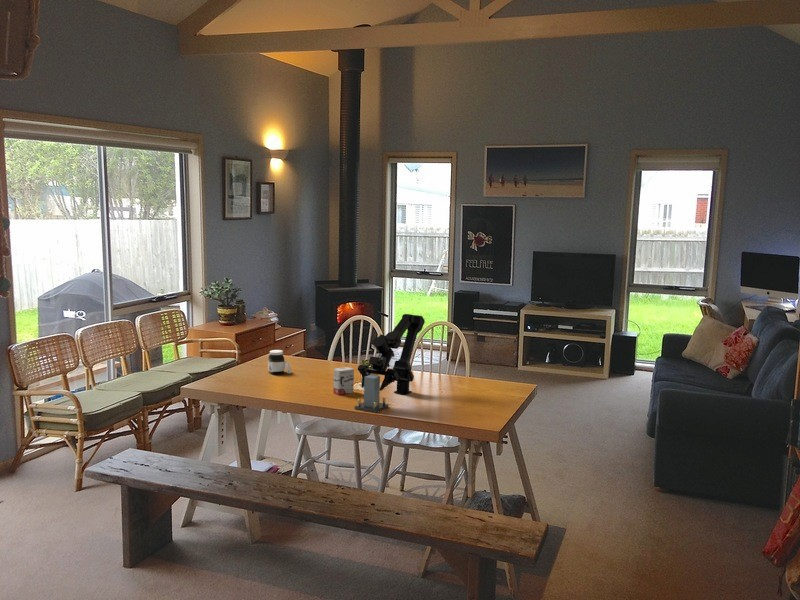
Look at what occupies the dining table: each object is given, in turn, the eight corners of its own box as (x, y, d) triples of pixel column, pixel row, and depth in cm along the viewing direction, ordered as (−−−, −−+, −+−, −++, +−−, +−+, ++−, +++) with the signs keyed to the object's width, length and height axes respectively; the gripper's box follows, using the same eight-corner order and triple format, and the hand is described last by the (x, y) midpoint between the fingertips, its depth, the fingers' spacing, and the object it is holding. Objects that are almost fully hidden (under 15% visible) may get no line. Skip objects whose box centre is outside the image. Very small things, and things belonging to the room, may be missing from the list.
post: (369, 403, 311) (370, 374, 309) (379, 404, 309) (379, 376, 307) (363, 405, 307) (364, 377, 305) (373, 407, 304) (374, 378, 302)
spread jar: (266, 371, 369) (266, 349, 368) (286, 369, 375) (286, 348, 373) (273, 376, 359) (273, 354, 357) (294, 374, 364) (294, 352, 362)
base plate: (367, 403, 315) (367, 394, 315) (388, 406, 310) (388, 397, 309) (354, 409, 305) (354, 399, 305) (376, 413, 300) (376, 403, 300)
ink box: (338, 395, 327) (338, 370, 325) (333, 392, 331) (333, 368, 329) (354, 392, 332) (354, 368, 330) (348, 390, 336) (349, 366, 334)
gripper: (359, 346, 313) (346, 375, 304) (396, 351, 304) (383, 381, 296) (368, 360, 321) (355, 389, 312) (404, 365, 312) (392, 395, 304)
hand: (371, 388), depth 306 cm, fingers open, 9 cm apart
